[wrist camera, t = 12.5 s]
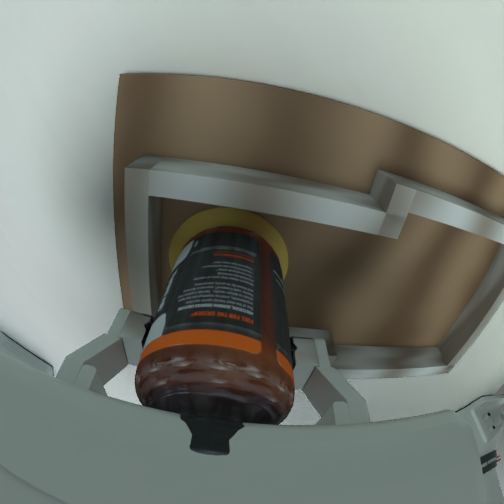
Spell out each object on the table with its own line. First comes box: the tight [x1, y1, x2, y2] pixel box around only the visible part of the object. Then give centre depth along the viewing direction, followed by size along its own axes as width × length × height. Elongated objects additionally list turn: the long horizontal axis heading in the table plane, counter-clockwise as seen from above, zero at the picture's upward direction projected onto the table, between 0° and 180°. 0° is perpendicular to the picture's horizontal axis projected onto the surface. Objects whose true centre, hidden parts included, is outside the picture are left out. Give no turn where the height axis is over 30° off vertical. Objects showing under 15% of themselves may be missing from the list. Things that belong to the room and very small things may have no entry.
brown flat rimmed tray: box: [113, 74, 504, 379], centre depth 16 cm, size 28×20×3 cm
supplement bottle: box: [135, 226, 295, 456], centre depth 12 cm, size 6×6×11 cm
